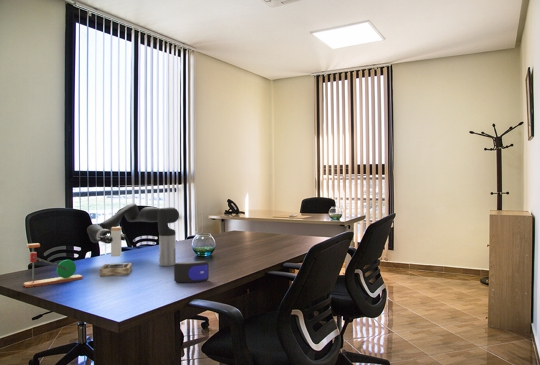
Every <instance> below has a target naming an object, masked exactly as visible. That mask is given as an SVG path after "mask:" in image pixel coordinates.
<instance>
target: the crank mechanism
mask: <svg viewBox="0 0 540 365" xmlns="http://www.w3.org/2000/svg"><path fill="white" fill-rule="evenodd" d="M40 247H41V244H40V243H38V242H36V243H35V242H34V243H26V248H27V249H32V251H30V252H29V263H32V280H31V281H26V282H23V287H24V286H25V287H24V288H26V287H30V288H34V287H33V286H36V287H42V286H47V285H48V284H49V285H54V284H55V285H56V284H61V283H67V282H72V281H79V280H83V279H84V277H83V276H84V275H82V274H75V273H76V271H77V265H76V263H75V262H74V261H73V260H71V259H65V260H62V261H60V262H59V263H58V264H56V263H54V262H50V261H48V260H45V259H43V258H40V257H38V256H37V251H35V248H40ZM37 261H40V262H43V263H45V264H48V265H51V266H54V267H56V274H57V275H58V277H53V278H45V279H39V280H38V279H37V280H35V263H36V262H37ZM37 263H38V262H37ZM41 285H42V286H41Z"/></svg>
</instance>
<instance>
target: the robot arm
mask: <svg viewBox="0 0 540 365" xmlns="http://www.w3.org/2000/svg"><path fill="white" fill-rule="evenodd" d="M138 207H139V206H138V205H137V204H136V203H130V204H127V205H125V206H123V207H122V208H120V209H119V211H117V212H115V213H114V215H112V216H110V217H109V218H108V219H106V220H104V221H102V222H101V223H100V224H91V225H89V226H88V227H87V229H86V232H87V234H88V237H89V240H90V242H92V243H96V244H97V243H99V242H101V243H104V244H106V245H107V244H110V245H111V242H112V237H111V228H112V227H119V226H118V225H119V224H120V223H121V220H122V218H123V217H125V219H126V221H127V222H130V223H133V222H146V223H157V230H158V234H159V235H158V237H159V238H158V243H159V244H158V245H159V248H158V249H159V250H158V253H159V254H158V256H159V258H158V262H159V264H158V265H159V266H160V267H171V266H174V264H175V263H177V262H176V261H177V260H176V259H177V258H176V254H177V252H176V249H177V248H176V247H177V246H176V244H177V242H176V233H177V232H176V230H175V229H173V228H171V227H169V224H174V223H176V222H177V221H178V220H179V218H180V212H179V211H178V210H177V208H175V207H172V206H171V207H161V208H160V207H155V206H146V207H144V208H142V209H141V210H140V209H139V208H138ZM126 235H127V234H124V233H121V241H125V240H126V238H127V237H126Z"/></svg>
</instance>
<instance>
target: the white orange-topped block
mask: <svg viewBox="0 0 540 365" xmlns="http://www.w3.org/2000/svg"><path fill="white" fill-rule="evenodd" d="M121 234H122V226H117V227H112V228H111V237H112V242H111V243H110V257H111V258H112V257H121V256H122V240H121Z"/></svg>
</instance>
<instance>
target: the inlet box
mask: <svg viewBox="0 0 540 365" xmlns="http://www.w3.org/2000/svg"><path fill="white" fill-rule="evenodd" d="M132 264H133V263H132V262H124V263H107V264H106V263H104V264H103V266H102V267H101V268H100V269H99V277H111V276H128V275H130V274H131V272H132V269H133V267H132V266H133V265H132Z"/></svg>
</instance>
